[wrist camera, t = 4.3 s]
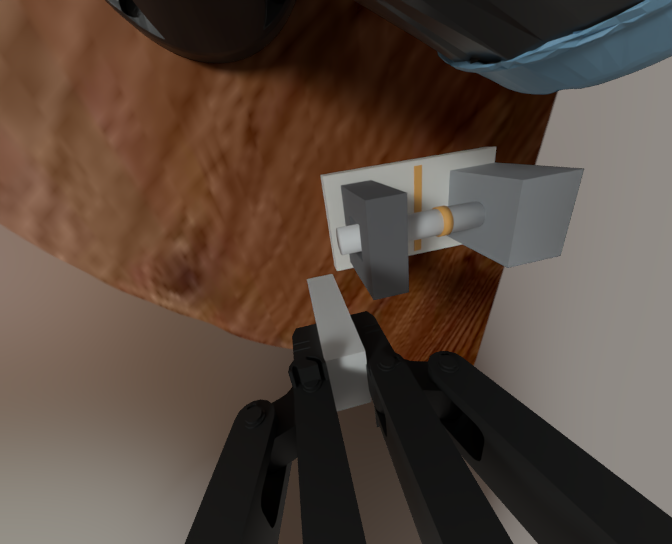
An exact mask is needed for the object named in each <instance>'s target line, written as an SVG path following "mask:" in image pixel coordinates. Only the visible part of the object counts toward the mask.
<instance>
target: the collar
mask: <svg viewBox="0 0 672 544" xmlns="http://www.w3.org/2000/svg"><path fill="white" fill-rule="evenodd" d="M341 193H342V201H343V209H344V217H345V224H346V226H349V225H354V224H359V229H360V238H361V248H362V251H360V252H355V253H351V254H349V256H350V262H351V264H352V266H353V267H354V269H355V270H356V272H357V274H358V275H359V277H360V279H361V280H362V282H363V283H364V285H365V287H366V288H367V290H368V292H369V293H370V295H371V296H372V298H373V300H377V299H381V298H385V297H390V296H394V295H398V294H403V293H407V292H409V274H408V208H407V192H404V191H401V190H398V189H395V188H392V187H390V186H387V185H384V184H381V183H378V182H375V181H372V180H368V181H363V182H357V183H351V184H346V185H341Z"/></svg>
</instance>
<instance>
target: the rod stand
mask: <svg viewBox="0 0 672 544" xmlns="http://www.w3.org/2000/svg"><path fill="white" fill-rule="evenodd" d="M495 155H496V147H482V148H476V149H470V150H464V151H458V152H452V153H446V154H441V155H435V156H429V157H423V158H417V159H411V160H405V161H399V162H394V163H388V164H382V165H376V166H370V167H364V168H358V169H352V170H347V171H341V172H335V173H329V174H323V175H320V176H321V182H322V189H323V195H324V201H325V208H326V214H327V221H328V227H329V233H330V240H331V246H332V253H333V259H334V265H335V268H336V270H337V271H339V270H344V269H349V268H354V267H353V266H352V264H351V262H350V256H349V254H351V253H355V252H360V251H362V248H361V238H360V229H359V224H354V225H349V226H346V224H345V217H344V209H343V201H342V193H341V185H346V184H351V183H357V182H363V181H368V180H372V181H375V182H378V183H381V184H384V185H387V186H390V187H392V188H395V189H398V190H401V191H404V192H407V208H408V256H410V255H415V254H419V253H424V252H429V251H433V250H438V249H443V248H447V247H452V246H457V245H462V244H463V245H465V246H467V247H469V248H471V249H473V250H475V251H477V252H478V253H480V254H482V255H484V256H486V257H488V258H490V259H492V260H494V261H496V262H497V263H499V264H501V265H503V266H505V267H507V268H509V267H513V266H518V265H522V264H526V263H531V262H536V261H540V260H544V259H548V258H553V257H557V256H560V255H561V252H562V248H563V245H564V241H565V237H566V234H567V230H568V226H569V223H570V219H571V215H572V212H573V208H574V204H575V201H576V197H577V193H578V190H579V186H580V182H581V178H582V175H583V171H584V169H582V168H567V167H553V166H538V165H523V164H509V163H495Z"/></svg>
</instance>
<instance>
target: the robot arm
mask: <svg viewBox="0 0 672 544" xmlns="http://www.w3.org/2000/svg"><path fill="white" fill-rule="evenodd" d="M105 1H106V2H107V3H108V4H109V5H110V6H111V7H112V8H113V9H114V10H116V11H117V12H118V13H119V14H120V15H121V16H122V17H123V18H125V19H126V20H127V21H128V22H129V23H131V24H132V25H133V26H134V27H135V28H136V29H138V30H139V31H140V32H141V33H143V34H144V35H145V36H147V37H148V38H149V39H151V40H152V41H154V42H155V43H157V44H158V45H160V46H162V47H163V48H165V49H167V50H169V51H171V52H173V53H175V54H178V55H180V56H183V57H186V58H188V59H192V60H196V61H201V62H207V63H228V62H234V61H238V60H241V59H244V58H247V57H249V56H251V55H253V54H255V53H257V52H258V51H260V50H261V49H263V48H264V47H265V46H266V45H268V44H269V43H270V42H271V41H272V40H273V39H274V38H275V37H276V36H277V34H278V33H279V32H280V30H281V29H282V27H283V26H284V24H285V23H286V21H287V19H288V17H289V16H290V13H291V11H292V9H293V7H294V4H295V1H296V0H105ZM354 1H356V2H357V3H359V4H361V5H362V6H364V7H366V8H367V9H369V10H371V11H372V12H374V13H376V14H377V15H379V16H381V17H382V18H384V19H386V20H387V21H389V22H391V23H392V24H394V25H396V26H397V27H399V28H401V29H402V30H404V31H406V32H407V33H409V34H411V35H412V36H414V37H416V38H417V39H419V40H420V41H422V42H424V43H425V44H427V45H428V46H430V47H431V48H433V49H435V50H436V51H438V56H439V57H440V58H441V59H442V60H443V61H444V62H446V63H448V64H450V65H451V66H453V67H454V68H455V69H458V70H462V71H466V72H474V73H478V74H480V75H482V76H484V77H486V78H488V79H490V80H492V81H494V82H496V83H498V84H500V85H501V86H503V87H505V88H508V89H510V90H513V91H517V92H521V93H527V94H550V93H553V92H557V91H559V90H563V89H581V88H585V87H591V86H595V85H599V84H602V83H605V82H608V81H611V80H614V79H617V78H620V77H622V76H625V75H628V74H631V73H633V72H636V71H639V70H641V69H643V68H646V67H648V66H651V65H653V64H655V63H658V62H660V61H662V60H664V59H666V58H668V57H671V56H672V0H354ZM307 282H308V287H309V291H310V296H311V301H312V305H313V310H314V315H315V319H316V324H313V325H309V326H305V327H300V328H296V330H295V332H294V334H293V336H292V340H293V352H294V353H293V354H294V361H293V362H292V363H291V365H290V366H289V371H288V373H289V376H290V380H291V383H292V388H291V390H290V391H289V392H288V393H287V394H286V395H284V396H283V397H281V398H280V399H278V400H276V401H275V402H273V403H270V402H269V401H267V400H257V401H253V402H251V403H249V404H248V405H246V406H245V407H244V408H243V409H242V410H240V412H239V413H238V415H237V417H236V419H235V421H234V423H233V426H232V428H231V430H230V433H229V435H228V438H227V441H226V443H225V445H224V448H223V450H222V453H221V455H220V458H219V460H218V463H217V465H216V468H215V470H214V472H213V475H212V478H211V480H210V482H209V485H208V487H207V490H206V492H205V495H204V497H203V500H202V502H201V505H200V507H199V510H198V512H197V515H196V517H195V520H194V522H193V524H192V527H191V529H190V532H189V534H188V537H187V539H186V542H185V544H278V539H279V533H280V527H281V521H282V516H283V510H284V504H285V498H286V493H287V486H288V481H289V476H290V470H291V464H292V461H293V460H294V459H296V458H297V457H298V472H299V487H300V504H301V520H302V535H303V544H366V541H365V536H364V531H363V527H362V522H361V518H360V514H359V509H358V504H357V500H356V495H355V491H354V487H353V482H352V478H351V473H350V468H349V464H348V460H347V455H346V451H345V446H344V441H343V437H342V433H341V428H340V424H339V419H338V415H337V411H340V410H344V409H347V408H351V407H354V406H358V405H362V404H365V403H369V402H371V397H372V400H373V403H374V407H375V415H376V423H377V427H380V428H381V431H382V434H383V437H384V440H385V442H386V445H387V448H388V450H389V453H390V456H391V459H392V462H393V465H394V467H395V470H396V473H397V475H398V478H399V481H400V484H401V487H402V489H403V492H404V495H405V498H406V501H407V503H408V506H409V509H410V512H411V514H412V517H413V520H414V523H415V526H416V528H417V531H418V534H419V537H420V539H421V542H422V544H513V542H512V541H511V539H510V537H509V536H508V534H507V532H506V531H505V529H504V527H503V525H502V524H501V522H500V520H499V519H498V517H497V515H496V514H495V512H494V510H493V508H492V507H491V505H490V503H489V502H488V500H487V498H486V497H485V495H484V493H483V492H482V490H481V488H480V486H479V485H478V483H477V481H476V480H475V478H474V477H473V475H472V473H471V471H470V470H469V468H468V466H467V465H466V463H465V461H464V460H463V458H464V459H465V460H466V461H467V462H468V463H469V465H470V466H471V467H472V468H473V469H474V470H475V472H476V473H477V474H478V475H479V476H480V477H481V478H482V480H483V481H484V482H485V483H486V484H487V485H488V487H489V488H490V489H491V490H492V491H493V492H494V493H495V495H496V496H497V497H498V498H499V499H500V500H501V501H502V503H503V504H504V505H505V506H506V507H507V508H508V510H509V511H510V512H511V513H512V514H513V515H514V516H515V518H516V519H517V520H518V521H519V522H520V523H521V524H522V526H523V527H524V528H525V529H526V530H527V531H528V533H529V534H530V535H531V536H532V537H533V538H534V540H535V541H536V542H537V543H538V544H672V517H670V516H669V515H668V514H666V513H665V512H664V511H662V510H661V509H660V508H659V507H657V506H656V505H655V504H653V503H652V502H651V501H649V500H648V499H647V498H645V497H644V496H643V495H642V494H640V493H639V492H637V491H636V490H635V489H634V488H632V487H631V486H630V485H628V484H627V483H626V482H624V481H623V480H622V479H621V478H619V477H618V476H617V475H615V474H614V473H613V472H611V471H610V470H609V469H607V468H606V467H605V466H604V465H602V464H601V463H600V462H598V461H597V460H596V459H594V458H593V457H592V456H590V455H589V454H588V453H587V452H585V451H584V450H583V449H581V448H580V447H579V446H577V445H576V444H575V443H574V442H572V441H571V440H569V439H568V438H567V437H566V436H564V435H563V434H562V433H560V432H559V431H558V430H556V429H555V428H554V427H553V426H551V425H550V424H549V423H547V422H546V421H545V420H543V419H542V418H541V417H540V416H538V415H537V414H536V413H534V412H533V411H532V410H530V409H529V408H528V407H526V406H525V405H524V404H523V403H521V402H520V401H519V400H517V399H516V398H515V397H513V396H512V395H511V394H509V393H508V392H507V391H506V390H504V389H503V388H502V387H500V386H499V385H498V384H496V383H495V382H494V381H492V380H491V379H490V378H489V377H487V376H486V375H485V374H483V373H482V372H480V371H479V370H478V369H477V368H476V367H474V366H473V365H472V364H470V363H469V362H468V361H466V360H465V359H464V358H462V357H461V356H459V355H457V354H456V353H452V352H449V351H439V352H436V353H434V354H432V355H431V356H430V358H429V360H428V362H423V361H409V360H405V359H403V358H402V357H401V355H399V354H397V353H395V352H394V350H393V349H392V347H391V345H390V343H389V342H388V340H387V338H386V336H385V335H384V333H383V331H382V330H381V328H380V326H379V324H378V322H377V321H376V319H375V317H374V316H373V315H372V314H370V313H369V312H367V311H365V312H361V313H357V314H353V315H350V314H349V312H348V309H347V307H346V305H345V302H344V300H343V298H342V295H341V293H340V291H339V288H338V286H337V284H336V281H335V279H334V277H333V274H329V275H325V276H320V277H315V278H311V279H307ZM461 455H462V456H461ZM462 457H463V458H462Z"/></svg>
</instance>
